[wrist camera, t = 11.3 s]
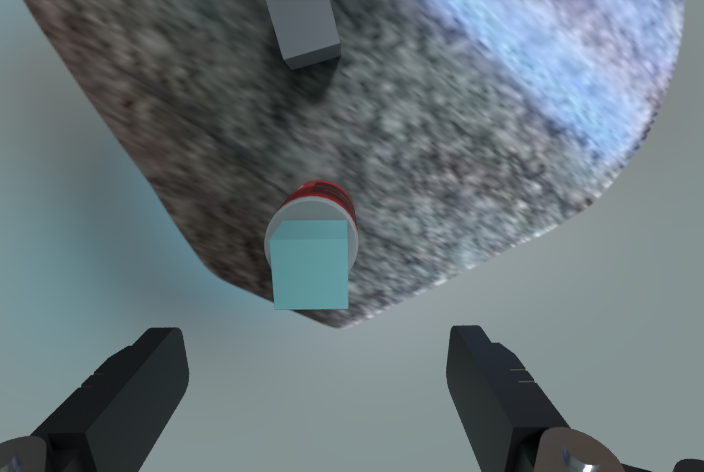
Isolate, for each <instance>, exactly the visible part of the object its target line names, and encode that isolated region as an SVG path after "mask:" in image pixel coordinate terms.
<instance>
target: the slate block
mask: <svg viewBox="0 0 704 472" xmlns="http://www.w3.org/2000/svg"><path fill="white" fill-rule="evenodd" d="M266 3H267V6H268V10H269V13H270V16H271V20H272V23H273V27H274V30H275V33H276V37H277V40H278V43H279V47H280V50H281V53H282V57H283V60H284V61H285V62H286V64H287V65H288V66H289V67H290V69H291V70H295V69H298V68H302V67H305V66H309V65H312V64H315V63H319V62H322V61H325V60H329V59H332V58H336V57H339V56H341V48H340V39H339V35H338V31H337V27H336V23H335V19H334V15H333V11H332V7H331V3H330V0H266Z"/></svg>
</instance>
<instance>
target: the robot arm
mask: <svg viewBox="0 0 704 472" xmlns="http://www.w3.org/2000/svg"><path fill="white" fill-rule="evenodd" d="M446 377H447V384H448V388H449V391H450V394H451V397H452V399H453V402H454V404H455V406H456V409H457V411H458V414H459V417H460V419H461V422H462V424H463V426H464V429H465V432H466V434H467V437H468V439H469V442H470V444H471V446H472V449H473V451H474V454H475V456H476V459H477V461H478V464H479V466H480V469H481V471H482V472H651V471H648V470H644V469H640V468H636V467H632V466H628V465H625V464H622V463H620V461H619V460H618V459H617V457H616V456H615V455H614V454H613V453H612V452H611V451H610V450H609V449H608V448H607V447H605V446H604V445H603V444H602V443H600V442H599V441H597V440H596V439H594V438H593V437H591V436H589V435H587V434H585V433H583V432H580V431H578V430H574V429H571V428H570V427H569V425H568V424H567V423H566V421H565V420H564V419H563V418H562V416H561V415H560V413H559V412H558V411H557V410H556V408H555V407H554V405H553V404H552V403H551V401H550V400H549V399H548V397H547V396H546V395H545V394H544V392H543V391H542V389H541V388H540V387H539V386H538V384H537V383H535V382H534V379H533V378H532V376H531V375H530V374H529V372H528V371H526V370H525V367H524V366H523V364H522V363H521V362H520V360H519V359H518V358H517V356H516V355H515V354H514V353H512V352H511V351H510V350H508V349H507V348H505V347H504V346H503V345H502V344H500V343H491V341H490V340H489V338H488V337H487V335H486V334H485V332H484V331H483V330H482V328H481V327H480V326H478V325H472V326H453V327H452V328H451V332H450V340H449V349H448V358H447V367H446ZM188 381H189V368H188V363H187V357H186V351H185V346H184V340H183V335H182V332H181V330H180V329H179V328H149V329H148V330H147V331H146V332H145V333H144V334H143V335H142V336H141V337H140V338H139V339H138V340H137V341H136V342H135V343H134V344H133V345H132V346H127V347H126V348H124V349H122V350H121V351H119V352H117V353H116V354H114V355H112V356H111V357H109V358H108V359H107V360H106V361H105V362H104V363H103V364H102V365H101V366H100V367H99V368H98V369H97V370H96V371H95V372H94V375H91V376H90V377H89V378H88V379H87V380H86V381H85V382H84V383H82V385H81V388H78V389H76V390H75V391H74V392H73V393H72V394H71V395H70V396H69V398H67V399H66V400H65V401H64V402H63V403H62V404H61V405H60V406H59V407H58V408H57V409H56V410H55V411H54V412H53V413H52V414H51V415H50V416H49V417H48V418H47V419H46V420H45V421H44V422H43V423H42V424H41V425H40V426H39V427H38V428H37V429H36V430H35V431H34V432H33V433H32V434H31V435H30V436H24V437H18V438H15V439H11V440H8V441H5V442H2V443H0V472H138V471H139V470H140V468H141V466H142V465H143V462H144V461H145V460H146V458H147V456H148V454H149V453H150V451H151V449H152V448H153V446H154V444H155V443H156V441H157V439H158V438H159V436H160V434H161V433H162V431H163V429H164V427H165V426H166V424H167V423H168V421H169V419H170V418H171V416H172V414H173V413H174V411H175V409H176V407H177V406H178V404H179V402H180V401H181V399H182V397H183V396H184V394H185V392H186V389H187V386H188ZM673 472H704V461H703V460H697V459H684V460H680V461H679V462H677V464H676V465H675V467H674V469H673Z"/></svg>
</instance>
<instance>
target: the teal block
mask: <svg viewBox="0 0 704 472" xmlns="http://www.w3.org/2000/svg"><path fill="white" fill-rule="evenodd" d="M269 242H270V255H271V268H272V281H273V294H274V307H275V310H299V309H348V234H347V220H288V221H282V222H281V224H280V225H279V227H278V228H277V230H276V231H275V232H274V234H273V235H272V237H271V238H270V240H269Z"/></svg>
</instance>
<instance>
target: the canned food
mask: <svg viewBox="0 0 704 472" xmlns="http://www.w3.org/2000/svg"><path fill="white" fill-rule="evenodd" d="M288 220H347V234H348V272H349V271H350V270H351V268H352V266H353V264H354V262H355V260H356V256H357V253H358V245H359V239H358V230H357V223H356V218H355V212H354V207H353V204H352V201H351V199H350V197H349V196H348V194H347V193H346V192H345V191H344V190H343V189H342V188H341V187H339V186H338V185H336V184H334V183H332V182H328V181H323V180H316V181H311V182H308V183H305V184H303V185H302V186H300V187H299V188H297V189H296V190H295V191H294V192H293V193H292V194H291V196H290V197H289V198H288V199H287V200H286V201H285V202H284V203H283V205H282V206H281V207H280V208H279V209H278V210H277V212H276V213H275V215H274V216H273V218H272V219H271V221H270V223H269V225H268V228H267V231H266V235H265V240H264V248H265V254H266V259H267V261H268V263H269V265H270V267H271V255H270V242H269V240H270V238H271V237H272V235H273V234H274V232H275V231H276V230H277V228H278V227H279V225H280V224H281V222H282V221H288ZM271 269H272V268H271Z"/></svg>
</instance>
